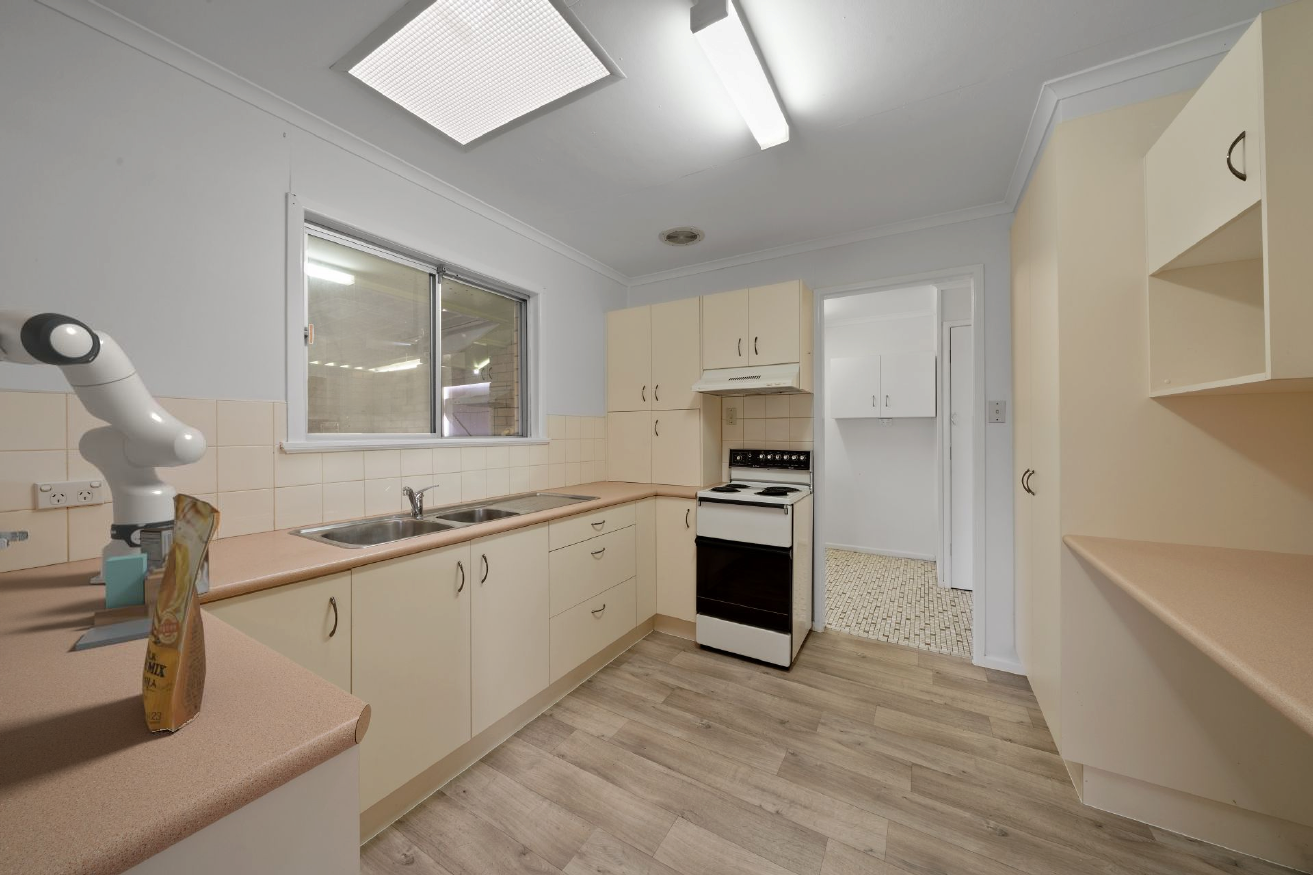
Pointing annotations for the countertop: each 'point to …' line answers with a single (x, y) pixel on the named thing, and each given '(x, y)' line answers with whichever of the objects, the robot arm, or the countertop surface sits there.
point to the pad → (115, 634)
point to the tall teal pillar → (125, 580)
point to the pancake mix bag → (179, 622)
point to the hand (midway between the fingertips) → (18, 539)
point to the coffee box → (158, 549)
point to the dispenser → (135, 611)
